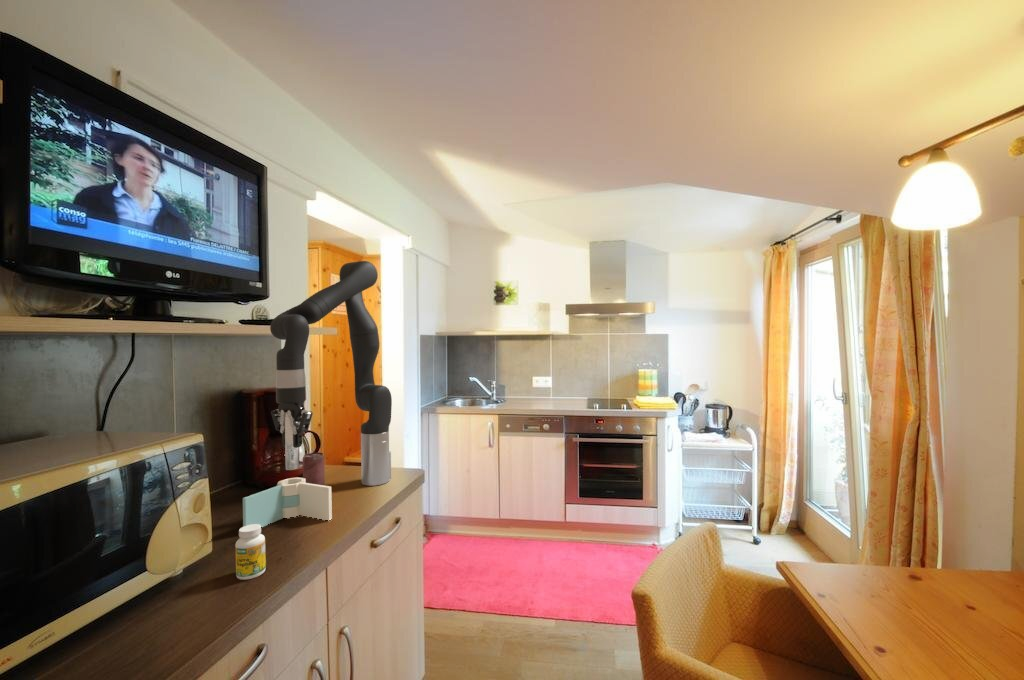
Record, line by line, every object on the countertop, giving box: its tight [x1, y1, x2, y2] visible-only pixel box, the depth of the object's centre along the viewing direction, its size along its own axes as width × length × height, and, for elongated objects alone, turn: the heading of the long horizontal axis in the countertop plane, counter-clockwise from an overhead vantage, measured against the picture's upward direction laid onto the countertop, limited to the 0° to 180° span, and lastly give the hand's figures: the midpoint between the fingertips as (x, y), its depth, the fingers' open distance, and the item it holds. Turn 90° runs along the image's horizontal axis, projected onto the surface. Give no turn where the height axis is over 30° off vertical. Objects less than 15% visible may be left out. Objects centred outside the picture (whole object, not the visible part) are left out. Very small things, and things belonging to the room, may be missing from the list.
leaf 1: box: [242, 485, 300, 528], centre depth 120 cm, size 18×7×9 cm, turn 157°
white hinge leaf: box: [276, 477, 333, 522], centre depth 123 cm, size 7×18×9 cm, turn 67°
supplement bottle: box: [234, 524, 267, 581], centre depth 92 cm, size 5×5×10 cm
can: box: [302, 452, 326, 486], centre depth 135 cm, size 6×6×14 cm
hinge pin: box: [284, 412, 300, 471], centre depth 125 cm, size 4×4×16 cm
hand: (292, 446), depth 125 cm, fingers closed on hinge pin, 3 cm apart
